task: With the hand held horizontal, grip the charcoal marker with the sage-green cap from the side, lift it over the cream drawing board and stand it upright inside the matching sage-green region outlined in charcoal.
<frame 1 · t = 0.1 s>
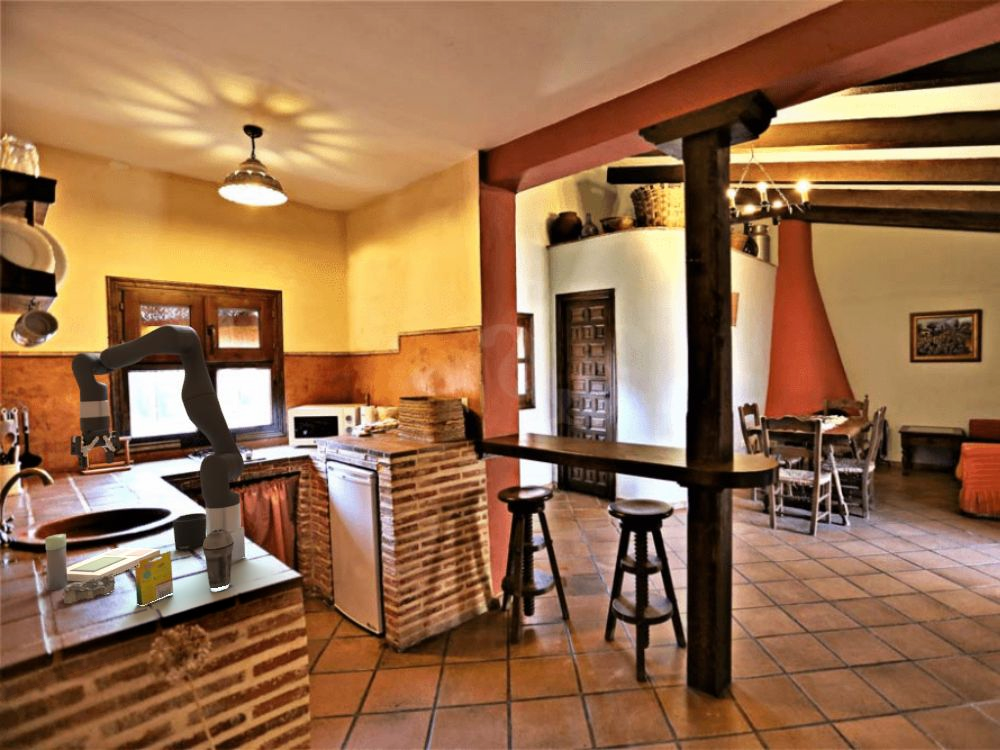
hand: (97, 465, 159), 29 cm above the counter, tool pointing down, fingers open, 8 cm apart
pen holder: (191, 547, 166), on the counter
drawing board: (109, 567, 150), on the counter
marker: (57, 587, 136), on the counter
beverage cup: (220, 589, 132), on the counter
crayon box: (155, 601, 126), on the counter
egg carton: (89, 596, 131), on the counter
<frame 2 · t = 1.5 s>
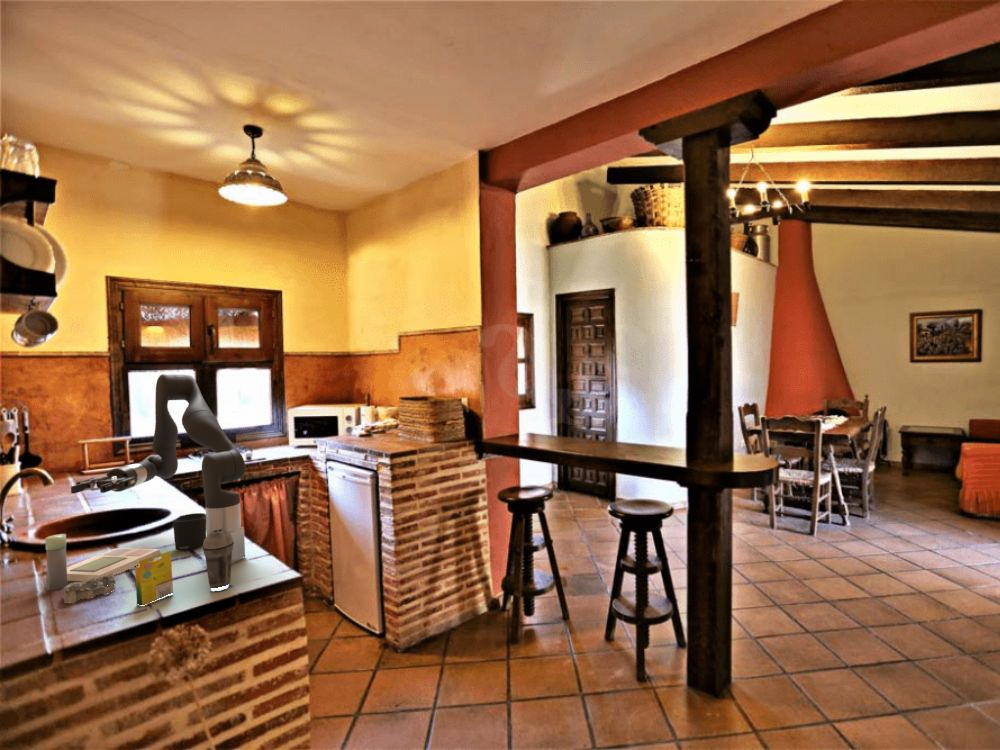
hand: (86, 489, 147), 24 cm above the counter, tool horizontal, fingers open, 8 cm apart
nothing on the counter moved.
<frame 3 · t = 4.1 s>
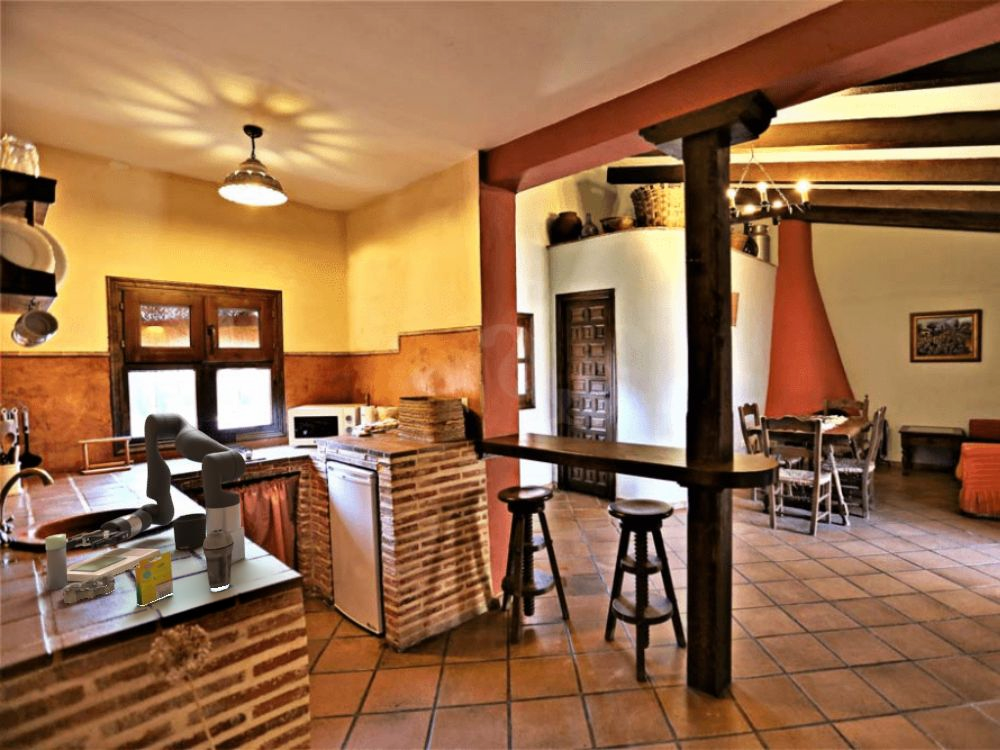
hand: (77, 547, 143), 9 cm above the counter, tool horizontal, fingers open, 8 cm apart
nothing on the counter moved.
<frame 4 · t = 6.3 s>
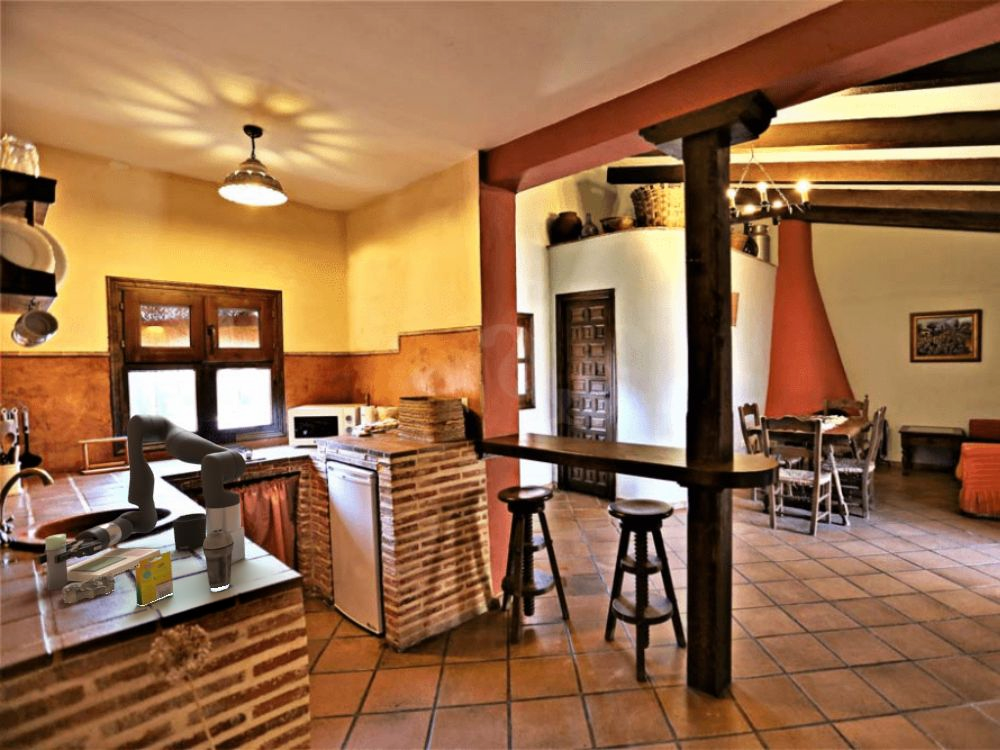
hand: (47, 560, 134), 8 cm above the counter, tool horizontal, fingers closed on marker, 4 cm apart
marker: (58, 587, 136), on the counter, touching gripper
everything else where it was.
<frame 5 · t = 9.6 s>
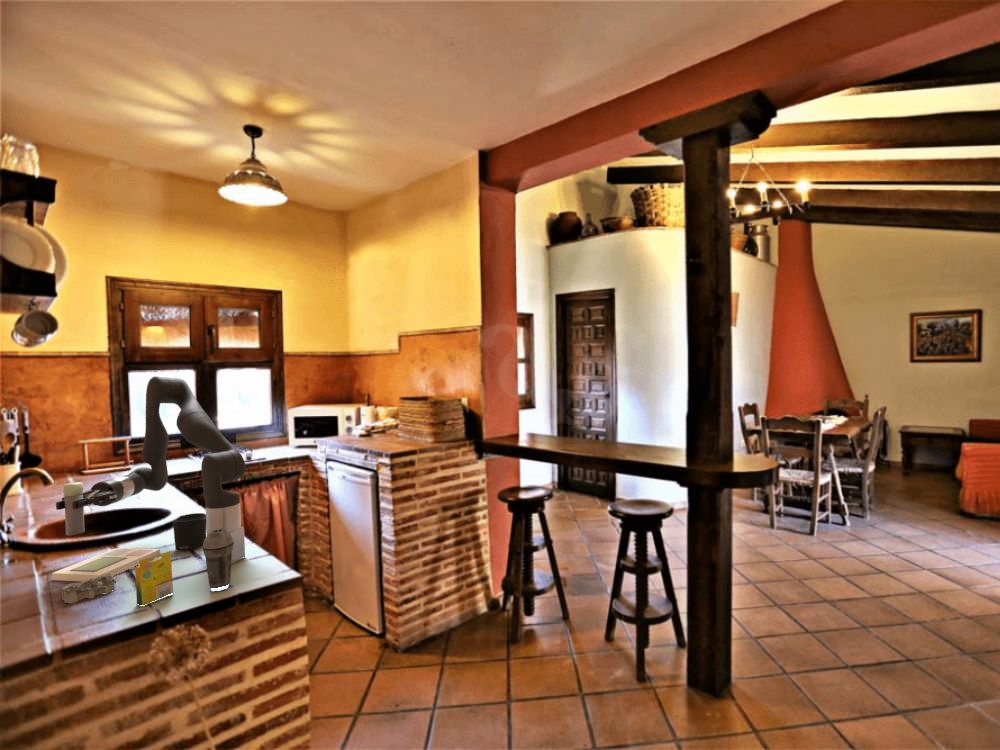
hand: (65, 505, 138), 22 cm above the counter, tool horizontal, fingers closed on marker, 4 cm apart
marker: (75, 533, 141), point 13 cm above the counter, touching gripper
everything else where it was.
when the fingers open (12 cm above the counter, at t = 12.9 s): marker drops 1 cm, resting on drawing board.
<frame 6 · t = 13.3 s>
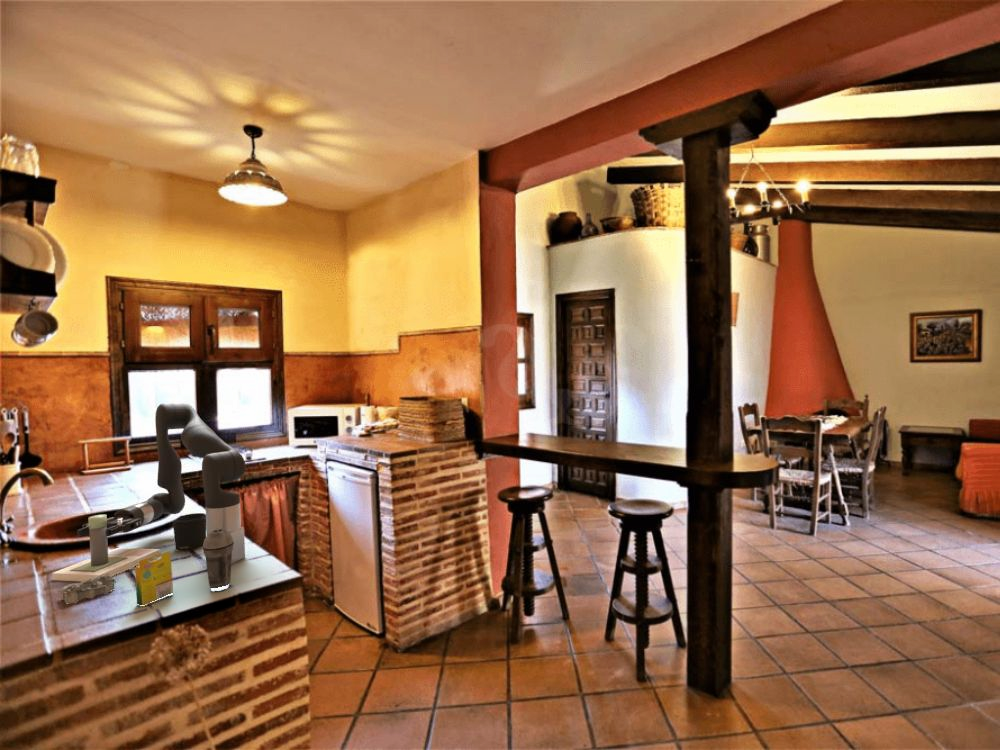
hand: (92, 533, 145), 12 cm above the counter, tool horizontal, fingers open, 8 cm apart
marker: (99, 563, 147), point 2 cm above the counter, touching drawing board
everything else where it was.
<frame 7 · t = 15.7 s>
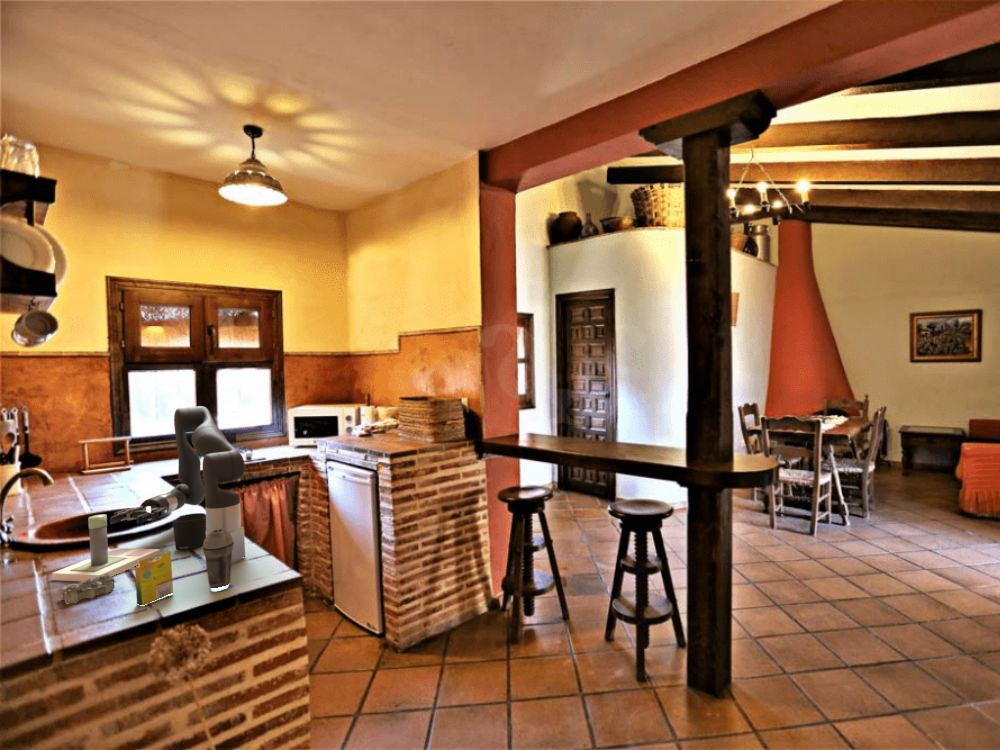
hand: (124, 520, 157), 12 cm above the counter, tool horizontal, fingers open, 8 cm apart
nothing on the counter moved.
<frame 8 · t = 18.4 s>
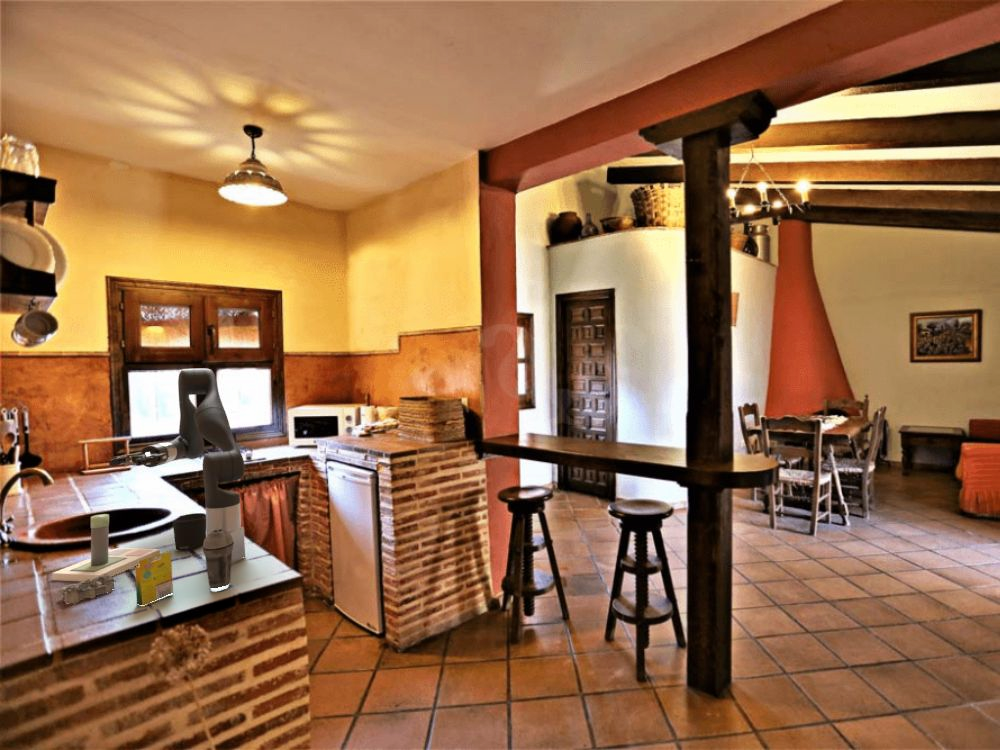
hand: (123, 463, 158), 30 cm above the counter, tool horizontal, fingers open, 8 cm apart
nothing on the counter moved.
at the end: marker inside the target area on the drawing board (0.1 cm from its centre), point 2.3 cm above the drawing board's base; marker tilted 2°; the gripper is holding nothing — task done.
